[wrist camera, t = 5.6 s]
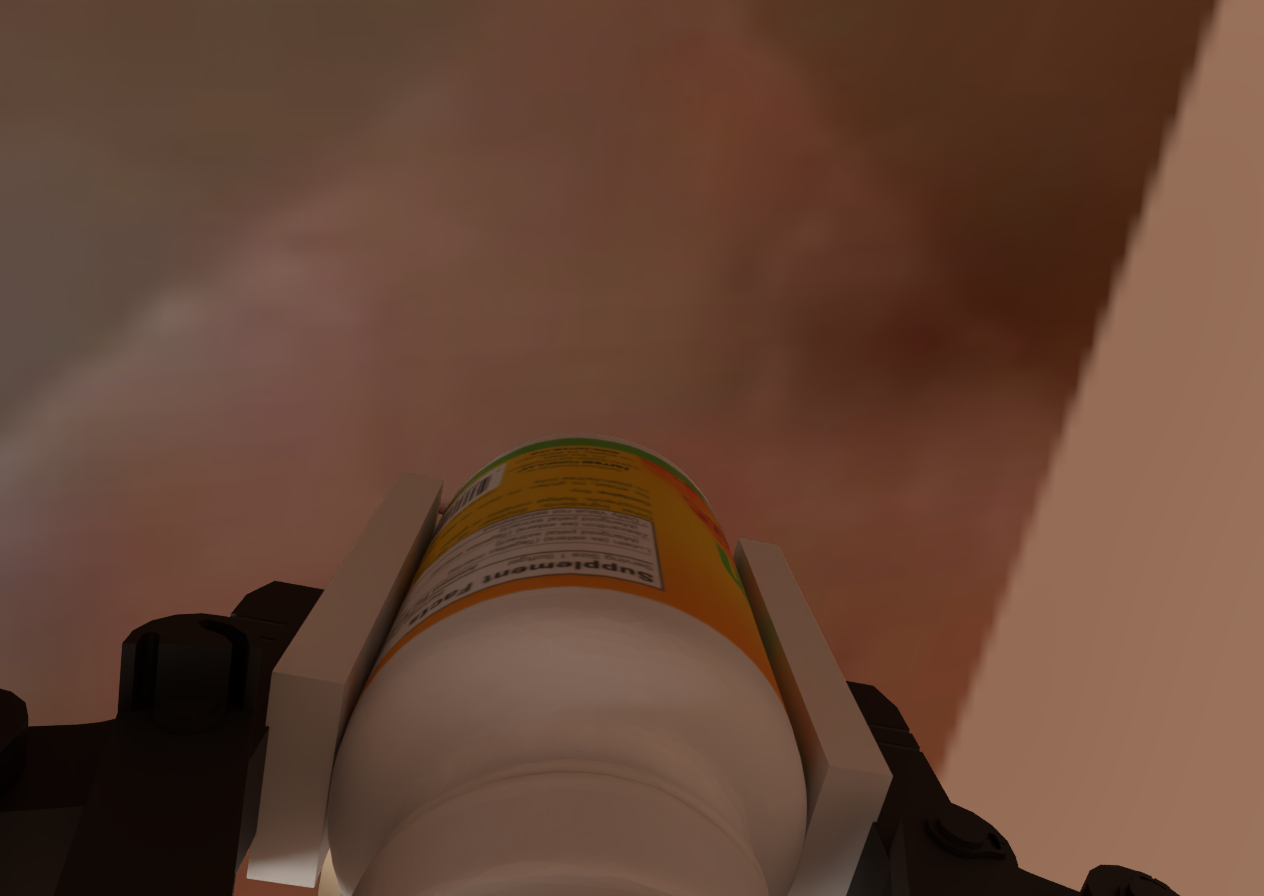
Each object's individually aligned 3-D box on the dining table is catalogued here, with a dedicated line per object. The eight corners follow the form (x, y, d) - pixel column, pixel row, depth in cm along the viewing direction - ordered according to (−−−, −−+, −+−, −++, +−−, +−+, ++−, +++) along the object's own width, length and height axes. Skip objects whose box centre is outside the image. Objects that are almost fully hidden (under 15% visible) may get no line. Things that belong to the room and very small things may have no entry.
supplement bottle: (727, 683, 17) (879, 1273, 8) (451, 700, 17) (280, 1320, 8) (722, 416, 16) (904, 769, 6) (417, 434, 16) (153, 819, 6)
